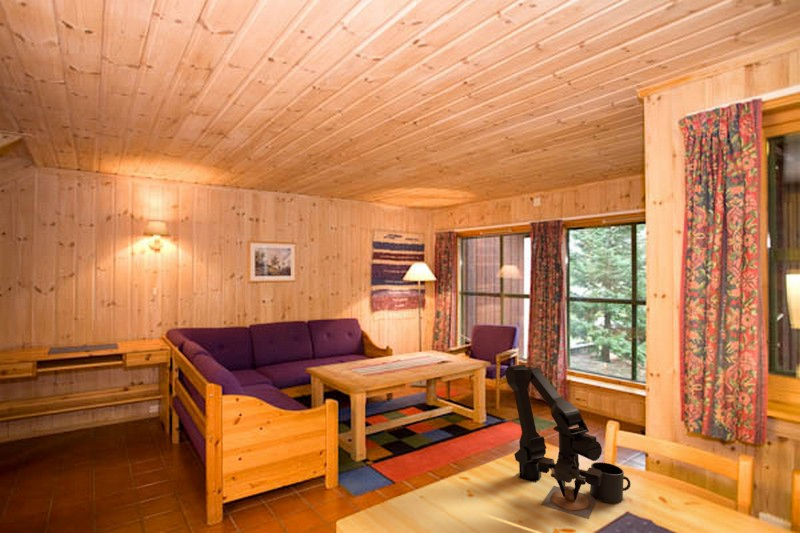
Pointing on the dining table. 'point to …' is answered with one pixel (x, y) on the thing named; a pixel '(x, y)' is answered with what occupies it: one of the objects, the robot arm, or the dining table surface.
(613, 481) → the mug
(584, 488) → the dining table surface
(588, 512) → the mat
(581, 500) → the lid
